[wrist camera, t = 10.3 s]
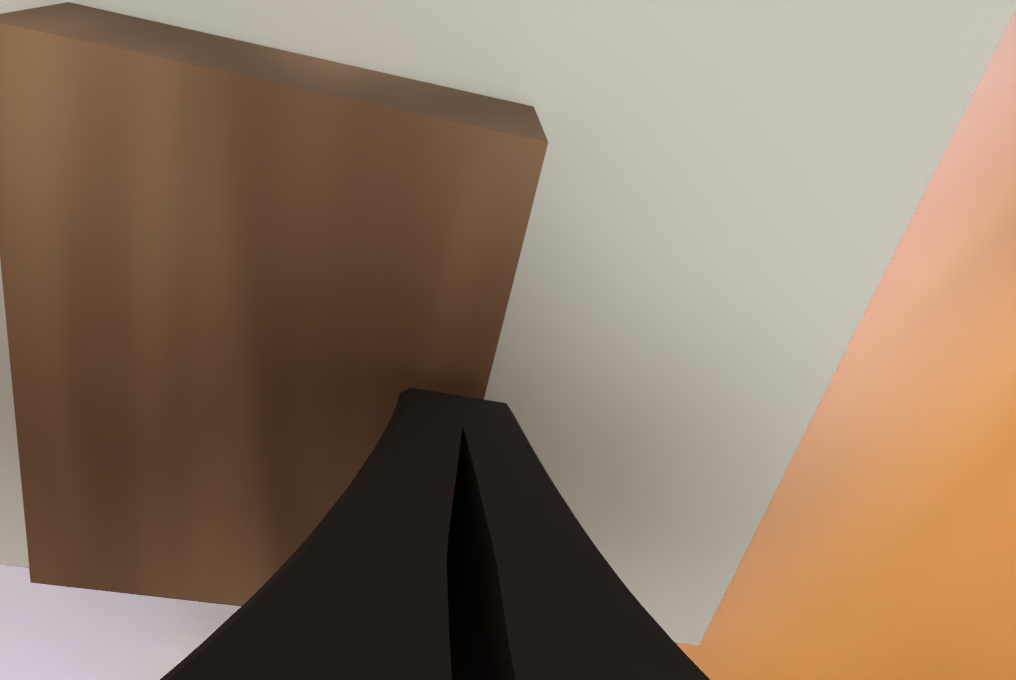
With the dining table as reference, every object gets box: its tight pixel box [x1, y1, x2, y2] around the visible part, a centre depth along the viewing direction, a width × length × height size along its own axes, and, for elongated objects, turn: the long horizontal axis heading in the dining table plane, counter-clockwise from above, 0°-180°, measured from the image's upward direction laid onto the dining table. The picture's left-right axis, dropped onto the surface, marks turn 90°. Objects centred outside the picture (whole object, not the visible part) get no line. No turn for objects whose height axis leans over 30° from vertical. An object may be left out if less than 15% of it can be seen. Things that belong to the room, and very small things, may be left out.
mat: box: [0, 0, 1016, 645], centre depth 11 cm, size 16×16×1 cm
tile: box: [0, 2, 548, 606], centre depth 11 cm, size 2×8×6 cm
